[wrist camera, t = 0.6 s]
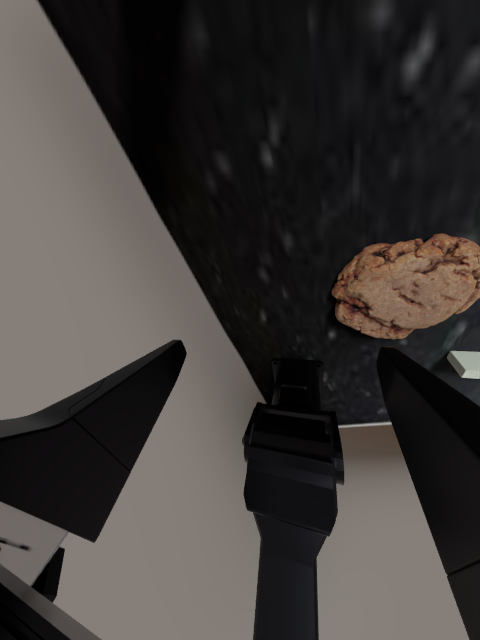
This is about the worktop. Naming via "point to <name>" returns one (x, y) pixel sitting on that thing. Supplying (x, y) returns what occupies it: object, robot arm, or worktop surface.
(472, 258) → the cookie
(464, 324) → the worktop surface
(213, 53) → the worktop surface
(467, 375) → the box
